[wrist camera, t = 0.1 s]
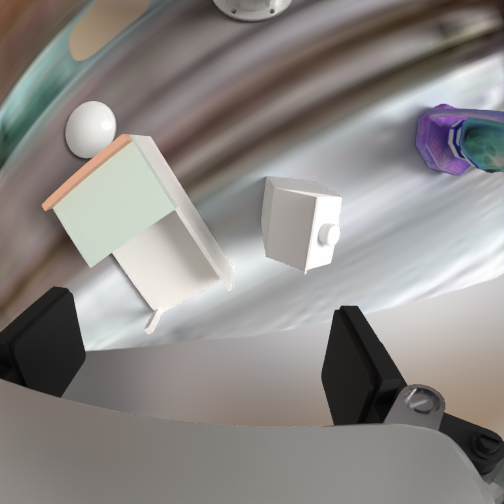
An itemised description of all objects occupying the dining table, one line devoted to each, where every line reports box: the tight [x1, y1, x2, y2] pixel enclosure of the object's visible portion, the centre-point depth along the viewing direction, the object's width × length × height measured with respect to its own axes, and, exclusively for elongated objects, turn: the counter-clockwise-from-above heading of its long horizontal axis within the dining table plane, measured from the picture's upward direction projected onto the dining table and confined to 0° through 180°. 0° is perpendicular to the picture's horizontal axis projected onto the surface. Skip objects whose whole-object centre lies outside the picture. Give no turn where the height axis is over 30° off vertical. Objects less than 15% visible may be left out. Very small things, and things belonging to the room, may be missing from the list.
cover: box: [42, 134, 178, 268], centre depth 37 cm, size 11×15×3 cm
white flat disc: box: [66, 101, 117, 158], centre depth 42 cm, size 9×9×1 cm
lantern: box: [415, 104, 504, 176], centre depth 29 cm, size 13×12×30 cm
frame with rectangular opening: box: [112, 135, 235, 334], centre depth 44 cm, size 24×15×7 cm, turn 31°
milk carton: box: [261, 176, 342, 274], centre depth 37 cm, size 7×7×19 cm
